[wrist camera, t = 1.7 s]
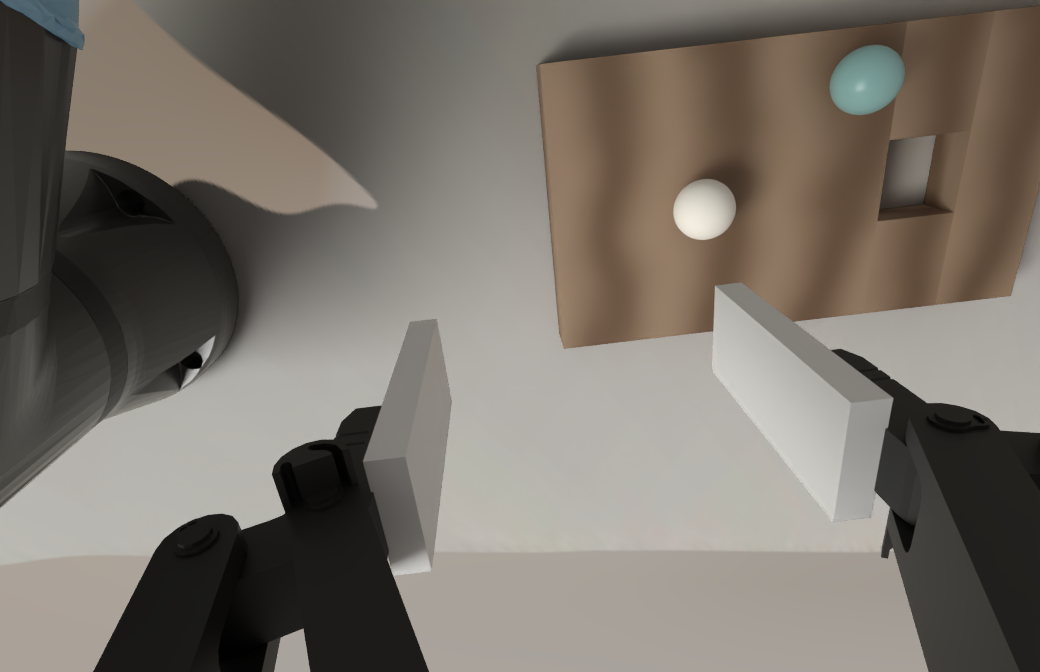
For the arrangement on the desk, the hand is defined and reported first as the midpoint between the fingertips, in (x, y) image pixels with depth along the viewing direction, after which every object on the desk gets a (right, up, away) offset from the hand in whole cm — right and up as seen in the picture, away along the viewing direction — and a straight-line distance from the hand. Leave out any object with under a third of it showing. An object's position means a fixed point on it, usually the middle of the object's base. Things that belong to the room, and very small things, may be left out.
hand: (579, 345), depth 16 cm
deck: (+14, +9, +18) cm, 24 cm away
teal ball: (+16, +13, +12) cm, 23 cm away
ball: (+8, +7, +14) cm, 18 cm away
